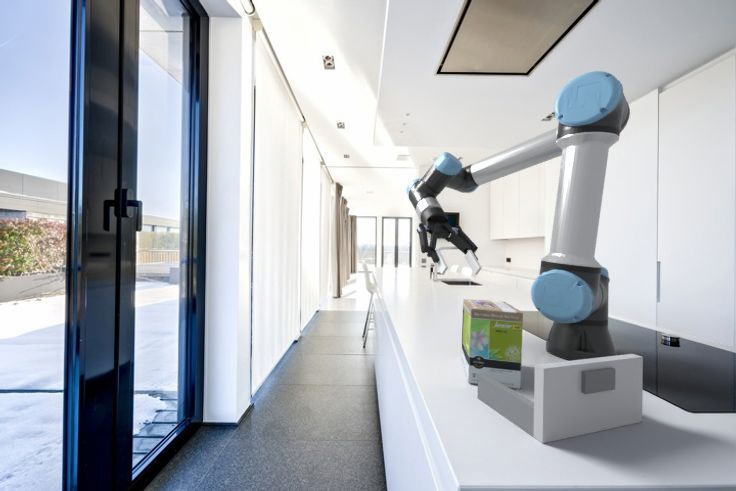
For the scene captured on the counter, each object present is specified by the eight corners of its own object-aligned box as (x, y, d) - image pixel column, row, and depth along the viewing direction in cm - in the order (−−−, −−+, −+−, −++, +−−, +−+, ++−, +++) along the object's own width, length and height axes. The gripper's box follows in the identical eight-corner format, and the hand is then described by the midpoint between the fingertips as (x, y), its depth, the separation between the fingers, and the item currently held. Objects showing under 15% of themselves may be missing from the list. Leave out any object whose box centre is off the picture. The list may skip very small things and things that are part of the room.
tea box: (523, 390, 59) (524, 311, 59) (467, 384, 61) (468, 308, 61) (504, 363, 74) (506, 299, 74) (460, 358, 76) (461, 297, 76)
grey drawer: (563, 385, 61) (563, 334, 62) (646, 423, 48) (647, 358, 48) (477, 398, 55) (478, 340, 55) (546, 446, 42) (547, 370, 42)
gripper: (457, 226, 102) (489, 280, 86) (394, 222, 95) (418, 280, 79) (467, 208, 97) (504, 261, 81) (402, 203, 90) (429, 260, 74)
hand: (461, 271), depth 80 cm, fingers open, 9 cm apart
